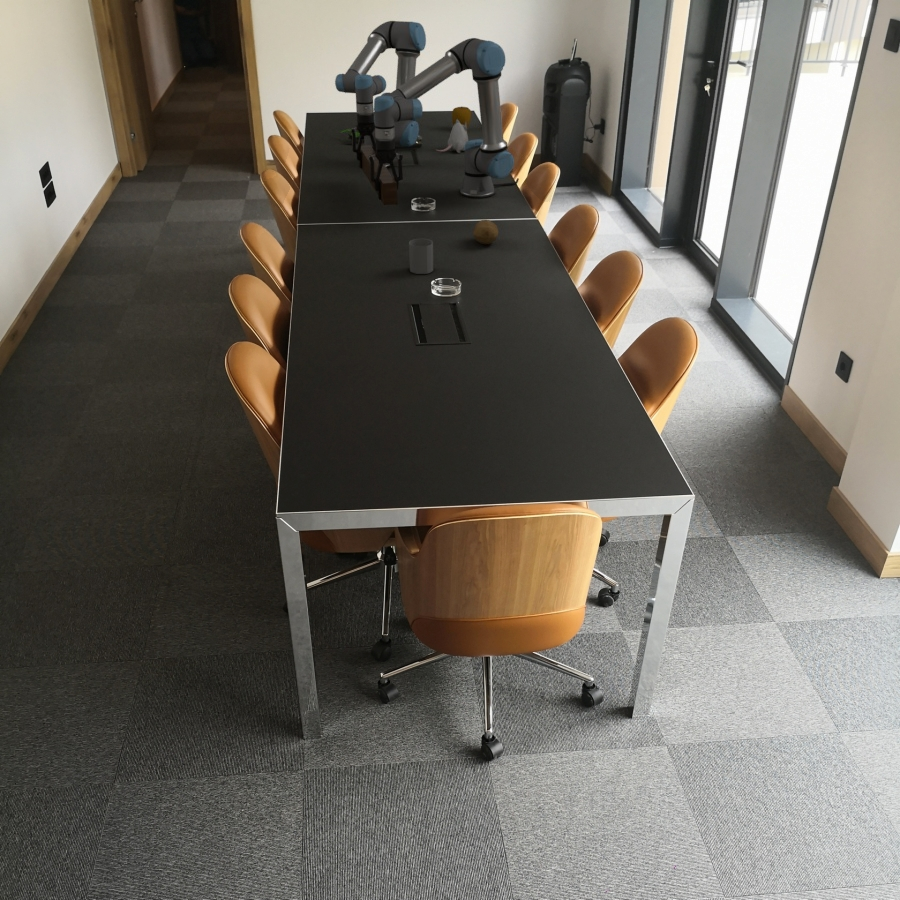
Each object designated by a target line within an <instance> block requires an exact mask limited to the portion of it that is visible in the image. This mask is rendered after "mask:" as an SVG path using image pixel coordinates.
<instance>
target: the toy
mask: <svg viewBox="0 0 900 900" xmlns="http://www.w3.org/2000/svg"><path fill="white" fill-rule="evenodd" d="M467 141H469V136H468V128H467V124H466V123H465V126H464V125H461V124H460V122H459V121H458V120H456V124H454V125H452V128H451V131H450V134H449V138H448V139H447V147H446V148H444V149H436V151H437V152H442V153H444V152H446V151H449V152H452V151H456V153H458V154H461V152H462V151H463V152H465V151H464V150H465V143H466V142H467Z"/></svg>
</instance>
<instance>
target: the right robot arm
mask: <svg viewBox="0 0 900 900" xmlns="http://www.w3.org/2000/svg"><path fill="white" fill-rule="evenodd" d="M505 65H506V53H505V51H504V49H503V47H502V46H501V45H499V44H498V43H496V42H494V41H493V40H492V41H491V40H485V39H480V38H477V37H471V38H467V39H465V40H463V41H460V42H458V43H457V44H456V45H454V46H452V47H450V48H449V49H448V50H447V51H445V52H444V56H442V57H441V58H440V59H438V60H436V61H435V62H434V63H432V64H431V65H430V66H428V67H427V68H425V69H424V70H422V71H420V72H419V73H418V74H417V75H416V74H415V77H413V78H412V79H411V80H409V81H408V82H406V83H405V84H403V85H402V86H400V87H399V88H397V89H396V88H395V90H393V91H391V92H382V93H381V94H380V95H379V96H375V98H373V108H374V112H373V114H374V115H375V138H376V152H375V154H374V155H369V156H368V157H369V160H370V180H371V182H375V190H376V191H378V195H377V199H378V200H379V201H381V184H380V182H379V178H380V174H381V170H382V166H383V164H386V163H388V164H390V167H389V168H390V169H391V173H392V177H393V178H394V180H395V181H396V182H397V191H398V190H399V189H400V188H399V183H400V181H403V178H404V174H403V173H404V172H403V158H404V155H403V154H402V153H398V152H397V153H396V151H397V150H396V145H395V140H394V139H393V138H394V137H395V134H394V122H398V121H407V120H415V121H416V120H419V119H420V118H422V116H423V113H424V111H423V104H422V102H421V100H420V99H419V98H421V97H422V96H424V95H425V94H427V93H428V92H429V91H431V90H432V89H434V88H435V87H437V86H438V85H440V84H441V83H443V82H444V81H445V80H447V79H449V78H450V77H451V76H453V75H455V74H456V75H458V74H460V73H462V72H464V71H467V70H470V71H471V75H472V80H473V81H474V82H475V83H476V86H477V96H478V104H479V105H478V106H479V107H478V108H479V115H480V124H481V125H480V126H481V134H482V138H477V139H470V140H468V141H467V142H466V143H465V150H464V151H463V152H464V175H463V179H462V182H461V184H460V185H461V186H460V188H459V194H460V195H461V196H463V197H466V198H471V199H484V198H489V197H492V196H494V195H495V187H502V186H504V187H505V186H513V185H517V184H518V183H519V180H520V179H519V178H516V180H515V181H513V182H505V183H504V182H503V183H493V180H492V178H493V179H497V180H503V179H505V178H506V177H508V176H509V175H510V174H511V172H512V171H513V169H514V167H515V158H514V156H513V154H512V153H511V152H510V151H509V146H508V142H507V141H506V140H505V138H504V131H503V130H504V129H503V119H502V109H501V96H500V86H499V80H500V78H501V77H502V71H503V70H504V67H505ZM375 157H376V158H377V159H378V160H379V162H378V168H377V172H376V176H375V178H374V160H375ZM395 158H396V159H397V169H398V170H397V171H398V173H397V171H396V168H395V164H394V160H395ZM375 190H374V191H375ZM376 191H375V192H376Z"/></svg>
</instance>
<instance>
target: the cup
mask: <svg viewBox="0 0 900 900" xmlns="http://www.w3.org/2000/svg"><path fill="white" fill-rule="evenodd" d="M408 253H409V272H411V273H412V274H416V275H426V274H430V273H432V272H434V241H433V240H431V239H428V238H422V237H421V238H420V237H419V238H414V239H411V240H410V241H409V242H408Z"/></svg>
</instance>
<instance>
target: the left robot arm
mask: <svg viewBox="0 0 900 900" xmlns="http://www.w3.org/2000/svg"><path fill="white" fill-rule="evenodd" d="M366 41H367V42H366V44H365V45H364V47H362V49H361V50H360V52H359V53H358V55H357V57H356V58H355V59H354V61H353V62H352V63H351V65H350V66H349V68H348V69H347V71H345V73H338V74H337V75H336V76H335V79H334V84H335V85H334V86H335V89H336V90H337V91H338V92H339V93H345V94H355V106H356V107H355V109H356V111H355V112H356V113H357V114H356V126H355V127H351V128H350V129H351V131H350V133H352V140H351V142H352V144H351V151H352V152H353V153H355V154H356V160H357V161H358V162H359V163H358V164H359V169H361V170H362V154H361V152H360V150H361V145H363V140H364V145H371V146H372V148H373V149H374V151H375V152H376V138H375V115H374V97H376V96H377V95H381V94H383V93H384V92H385V91H386V89H387V81H386V78H384V77H383V76H382V75H380V74H375V75H371V74H368V72H369V71H370V70H371V68H372V67H373V66H374V64H375V62H376V61H377V59H378V58H379V56H381V54H384V53H385V52H386V50H389V49H392V50H393V49H394V50H395V51H394V53H395V54H396V56H397V67H396V68H397V69H396V81H395V83H396V84H395V90H396V89H397V88H399V87H400V86H402V85H403V84H405V83H406V82H408V81H409V80H411V79H412V78H413V77H415V76H416V72H417V71H416V70H417V69H416V68H417V59H418V58H419V57H420V56H421V52H422V51H424V50H425V48H426V45H427V35H426V31H425V29H424V26H423V25H422V24H421V23H420V22H415V21H405V20H404V21H403V20H402V21H400V20H388V21H386V22H383V23H381V24H379V25H377V27H375V28H374V29H373V30H372V31H371V32H370V34H369V35H368V37H367V40H366ZM419 126H420V125H419V123H418V122H417V121H416V119H415V120H407V121H398V122H394V134H395V137H394V138H393V139H394V140H395V147H396V146H397V147H413V145H414V144H415V143H416V142H417V140H418V138H419V132H420V127H419ZM356 131H358V132H359V133H360V135H359V141H358V142H356V135H355V133H356ZM363 137H364V139H363ZM395 151H396V153H398V150H395ZM384 165H385V167H386V168H387V169H388V168H391V167H390V164H388V163H386V164H384Z"/></svg>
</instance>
